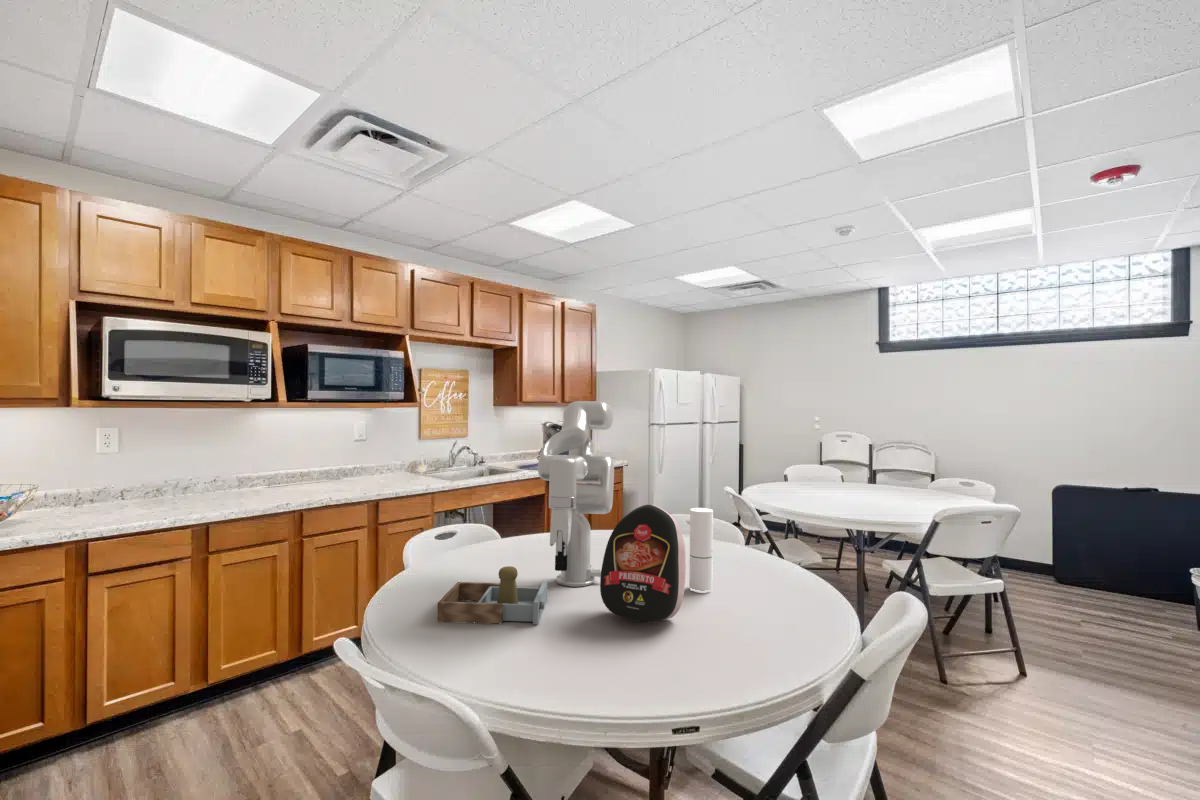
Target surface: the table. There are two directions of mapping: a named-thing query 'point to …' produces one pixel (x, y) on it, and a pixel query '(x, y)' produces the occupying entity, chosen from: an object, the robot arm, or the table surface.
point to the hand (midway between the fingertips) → (561, 569)
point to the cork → (508, 585)
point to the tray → (521, 603)
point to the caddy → (468, 605)
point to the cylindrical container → (701, 549)
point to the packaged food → (644, 566)
